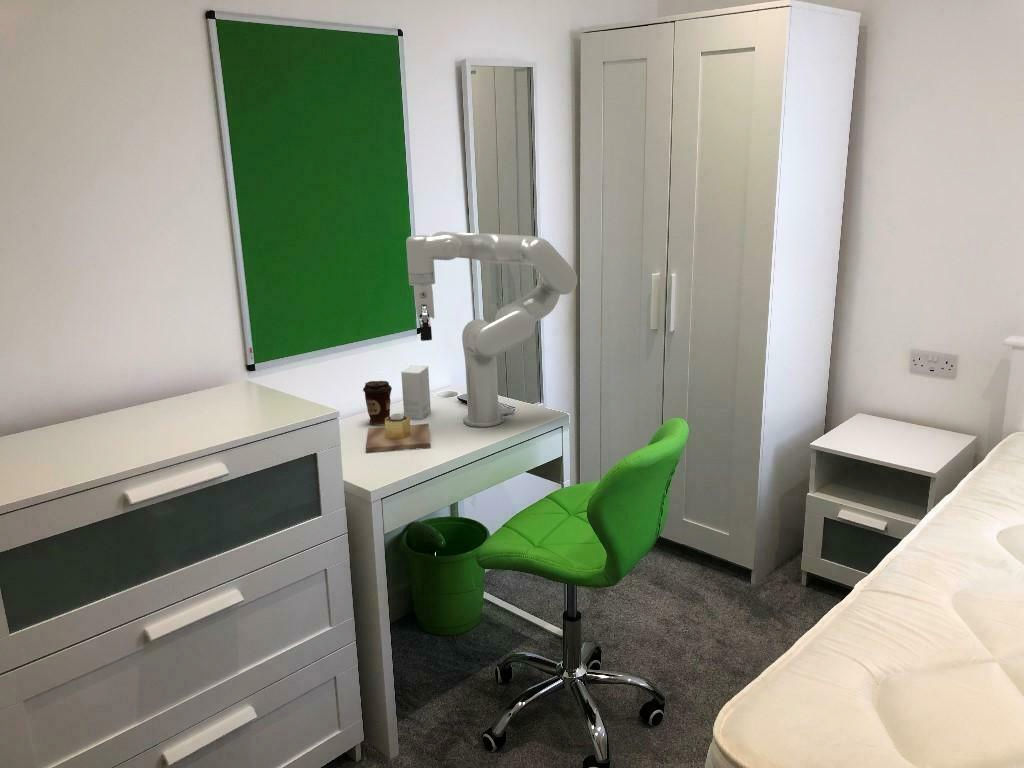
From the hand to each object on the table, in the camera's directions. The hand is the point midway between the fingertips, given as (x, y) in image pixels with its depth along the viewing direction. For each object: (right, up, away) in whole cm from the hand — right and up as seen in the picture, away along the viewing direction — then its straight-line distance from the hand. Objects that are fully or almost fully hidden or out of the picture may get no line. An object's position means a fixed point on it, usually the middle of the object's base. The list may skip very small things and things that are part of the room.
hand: (426, 336), depth 245 cm
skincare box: (-5, -24, +21) cm, 32 cm away
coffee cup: (-16, -26, +14) cm, 34 cm away
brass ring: (-8, -29, -3) cm, 30 cm away
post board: (-8, -30, -2) cm, 31 cm away
